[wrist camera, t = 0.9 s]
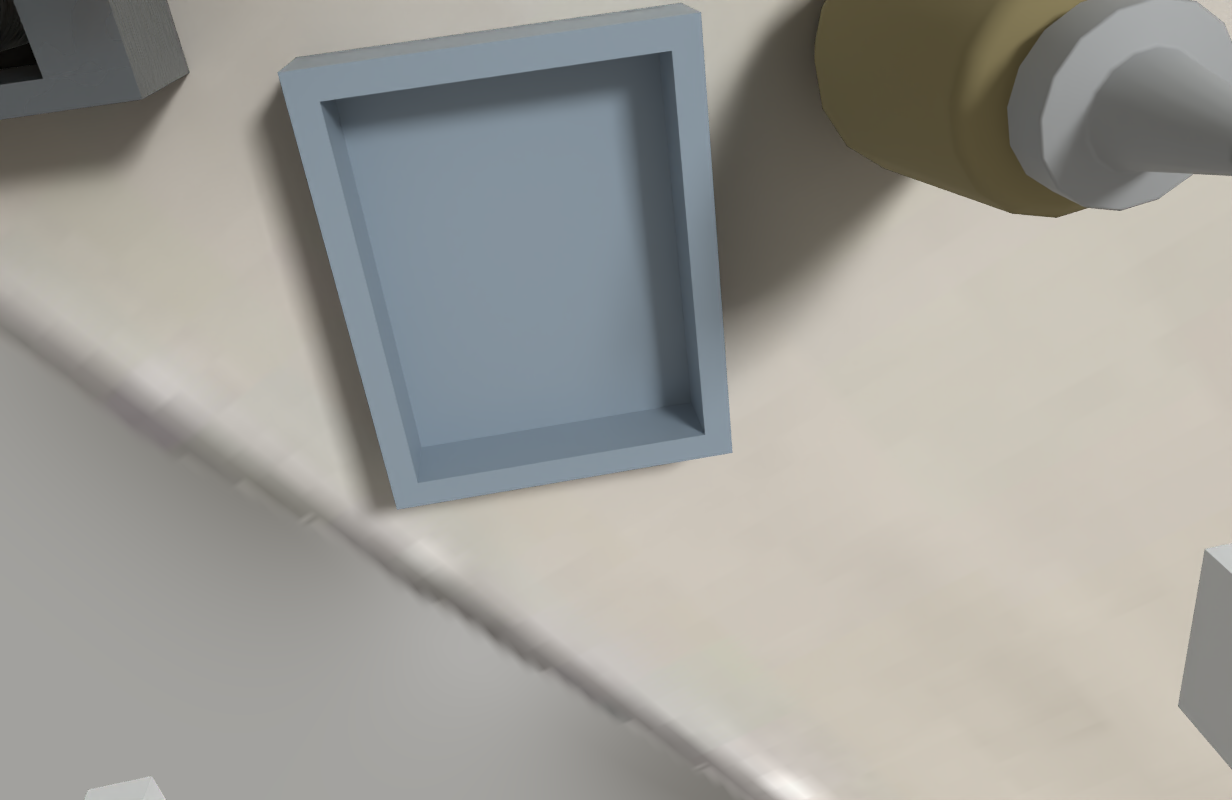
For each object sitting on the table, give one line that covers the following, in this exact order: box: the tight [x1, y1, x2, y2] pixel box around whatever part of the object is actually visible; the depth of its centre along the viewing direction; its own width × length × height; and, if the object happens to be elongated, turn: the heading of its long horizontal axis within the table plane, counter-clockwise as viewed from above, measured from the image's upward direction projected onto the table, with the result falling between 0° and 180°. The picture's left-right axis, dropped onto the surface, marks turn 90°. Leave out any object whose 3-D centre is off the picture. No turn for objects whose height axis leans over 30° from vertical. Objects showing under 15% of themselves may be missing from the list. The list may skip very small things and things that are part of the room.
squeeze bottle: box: [814, 0, 1232, 218], centre depth 26 cm, size 8×8×18 cm
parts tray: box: [278, 3, 732, 510], centre depth 34 cm, size 16×13×3 cm
